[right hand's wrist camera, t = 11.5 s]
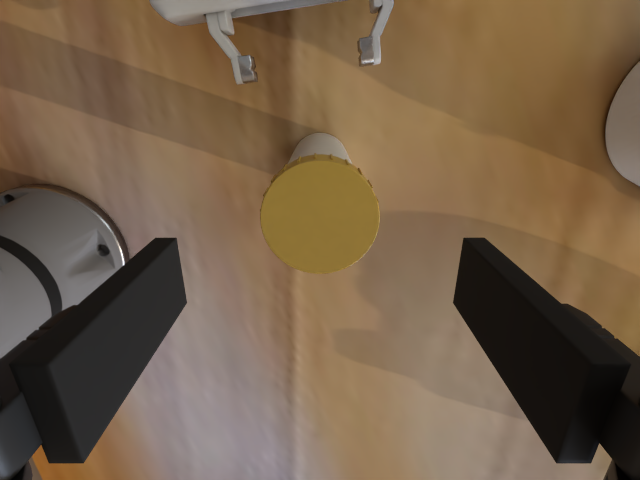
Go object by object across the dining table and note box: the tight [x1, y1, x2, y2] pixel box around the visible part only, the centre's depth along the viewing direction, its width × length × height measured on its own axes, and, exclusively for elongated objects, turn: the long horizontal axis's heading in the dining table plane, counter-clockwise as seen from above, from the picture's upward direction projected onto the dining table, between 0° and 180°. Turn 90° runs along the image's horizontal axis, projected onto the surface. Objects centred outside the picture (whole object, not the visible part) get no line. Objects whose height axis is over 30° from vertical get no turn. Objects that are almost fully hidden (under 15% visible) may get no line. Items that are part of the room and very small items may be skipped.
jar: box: [287, 133, 353, 165], centre depth 27 cm, size 6×6×18 cm
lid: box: [260, 153, 380, 274], centre depth 20 cm, size 6×6×2 cm
